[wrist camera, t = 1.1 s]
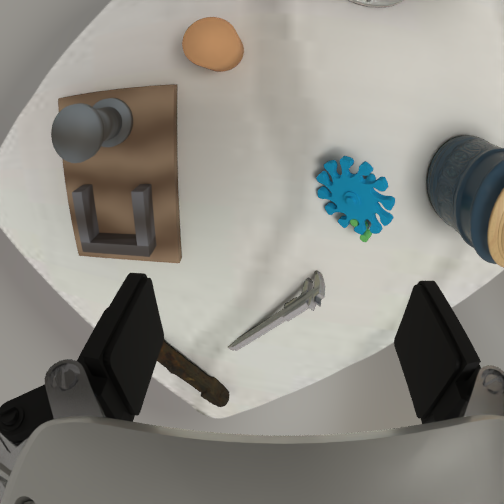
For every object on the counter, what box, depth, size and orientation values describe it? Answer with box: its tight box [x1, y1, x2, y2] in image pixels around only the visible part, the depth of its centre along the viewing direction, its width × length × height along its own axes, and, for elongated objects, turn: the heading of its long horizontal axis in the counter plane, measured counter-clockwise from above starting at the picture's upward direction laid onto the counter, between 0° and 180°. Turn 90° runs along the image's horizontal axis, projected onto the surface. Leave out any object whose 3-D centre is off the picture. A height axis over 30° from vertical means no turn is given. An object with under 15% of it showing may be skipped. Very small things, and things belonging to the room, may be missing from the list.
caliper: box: [228, 271, 325, 351], centre depth 45 cm, size 20×1×6 cm, turn 140°
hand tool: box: [157, 340, 229, 407], centre depth 53 cm, size 19×4×5 cm, turn 37°
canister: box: [427, 136, 504, 267], centre depth 28 cm, size 13×13×18 cm
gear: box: [316, 156, 395, 242], centre depth 36 cm, size 11×6×10 cm
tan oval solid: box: [182, 17, 244, 72], centre depth 27 cm, size 5×5×8 cm
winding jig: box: [51, 85, 182, 263], centre depth 34 cm, size 23×16×10 cm
